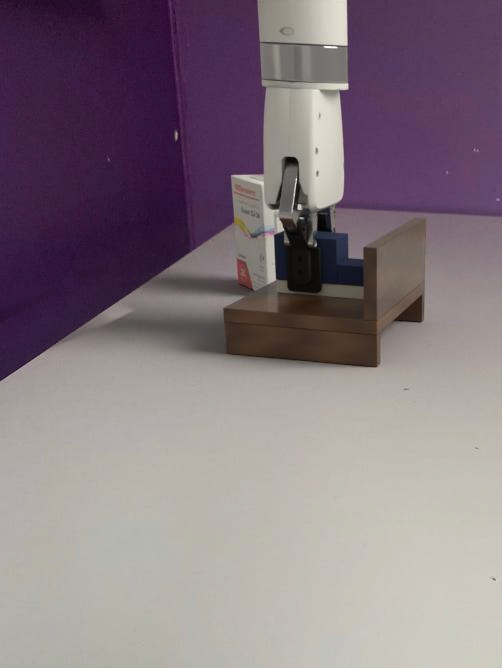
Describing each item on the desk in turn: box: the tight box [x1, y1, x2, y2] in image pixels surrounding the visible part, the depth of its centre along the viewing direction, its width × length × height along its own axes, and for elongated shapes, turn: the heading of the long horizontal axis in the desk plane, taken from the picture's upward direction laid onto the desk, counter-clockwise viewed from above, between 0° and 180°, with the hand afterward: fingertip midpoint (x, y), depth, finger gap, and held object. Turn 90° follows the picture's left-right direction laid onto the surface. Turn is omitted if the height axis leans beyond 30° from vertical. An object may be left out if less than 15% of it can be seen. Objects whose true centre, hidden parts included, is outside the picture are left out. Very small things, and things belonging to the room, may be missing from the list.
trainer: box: [274, 231, 364, 299], centre depth 98 cm, size 9×4×5 cm, turn 81°
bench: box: [222, 217, 427, 368], centre depth 99 cm, size 14×20×10 cm
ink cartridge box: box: [230, 173, 303, 292], centre depth 116 cm, size 9×5×15 cm, turn 34°
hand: (312, 284), depth 99 cm, fingers closed on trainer, 4 cm apart
